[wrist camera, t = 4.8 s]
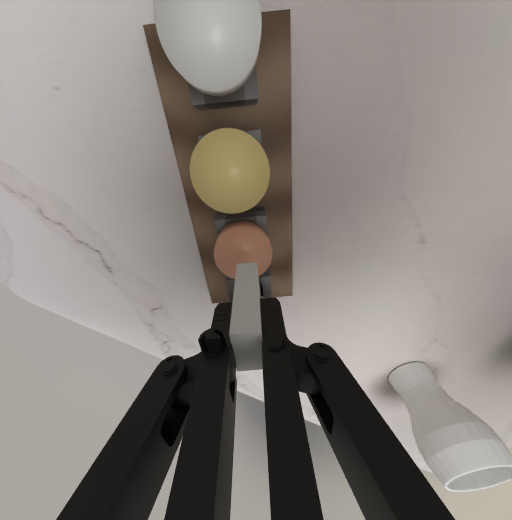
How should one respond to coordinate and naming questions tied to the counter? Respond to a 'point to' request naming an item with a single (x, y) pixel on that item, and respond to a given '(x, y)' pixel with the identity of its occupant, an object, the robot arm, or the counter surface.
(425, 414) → the cup
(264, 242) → the terracotta button
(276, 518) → the robot arm
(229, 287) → the panel
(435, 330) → the counter surface
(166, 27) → the grey button
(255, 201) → the ochre button
